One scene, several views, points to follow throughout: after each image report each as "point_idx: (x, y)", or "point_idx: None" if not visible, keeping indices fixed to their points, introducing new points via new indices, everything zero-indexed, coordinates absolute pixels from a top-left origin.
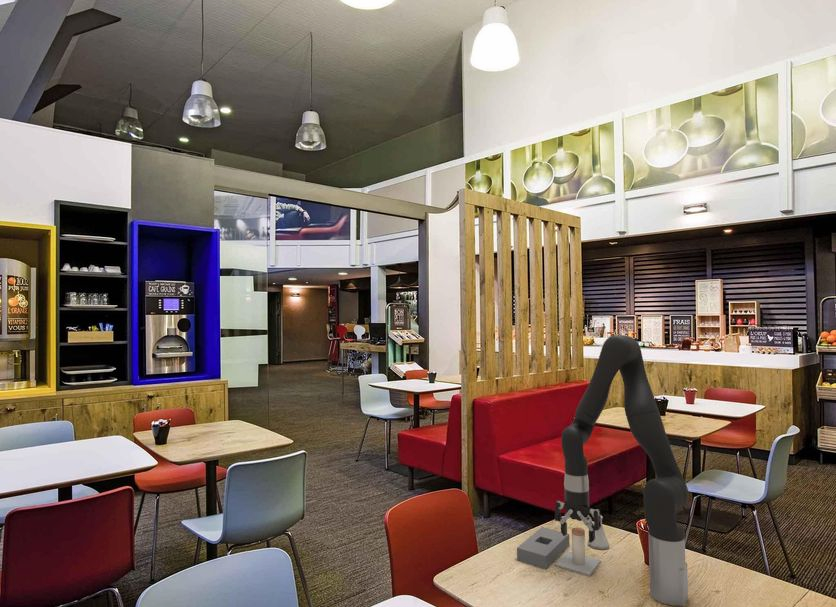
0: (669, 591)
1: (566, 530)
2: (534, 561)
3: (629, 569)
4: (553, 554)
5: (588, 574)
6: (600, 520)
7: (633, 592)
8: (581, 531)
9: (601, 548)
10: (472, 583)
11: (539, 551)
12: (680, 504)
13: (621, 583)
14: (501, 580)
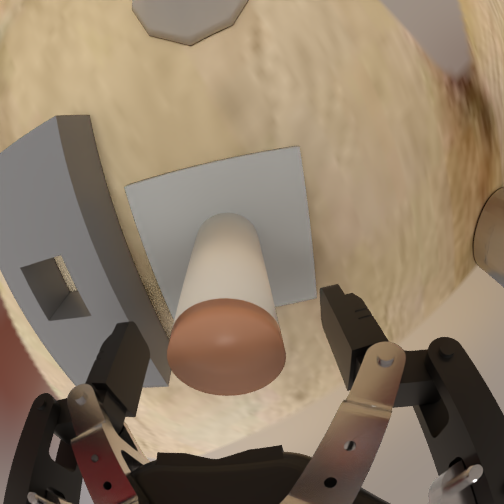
0: None
1: (128, 346)
2: None
3: (409, 130)
4: (141, 315)
5: (311, 297)
6: (487, 390)
7: (442, 273)
8: (262, 364)
9: (228, 23)
10: (142, 444)
11: None
12: None
13: (413, 254)
14: (159, 426)
